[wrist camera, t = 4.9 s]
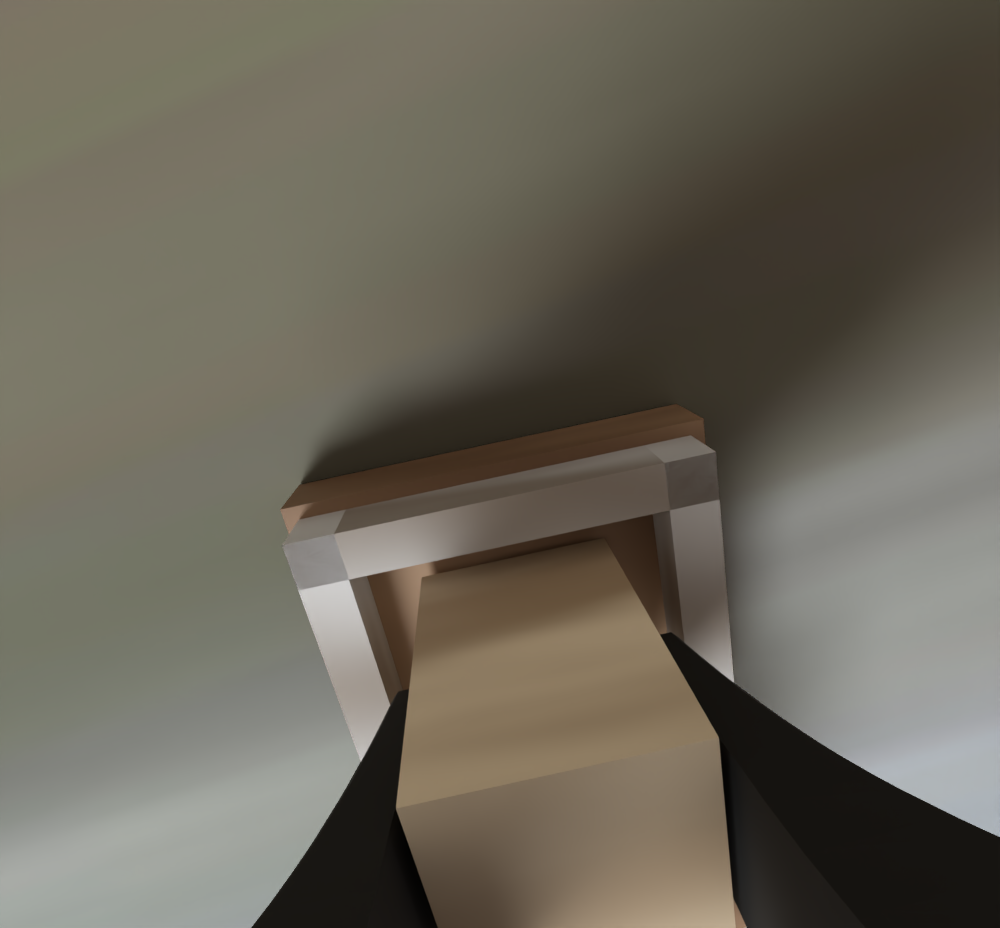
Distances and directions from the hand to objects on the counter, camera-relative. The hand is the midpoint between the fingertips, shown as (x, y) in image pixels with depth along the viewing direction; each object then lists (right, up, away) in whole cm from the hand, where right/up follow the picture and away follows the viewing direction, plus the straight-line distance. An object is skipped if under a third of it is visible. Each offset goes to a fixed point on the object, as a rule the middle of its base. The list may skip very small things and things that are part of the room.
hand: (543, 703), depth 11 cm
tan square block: (0, +1, +2) cm, 2 cm away
